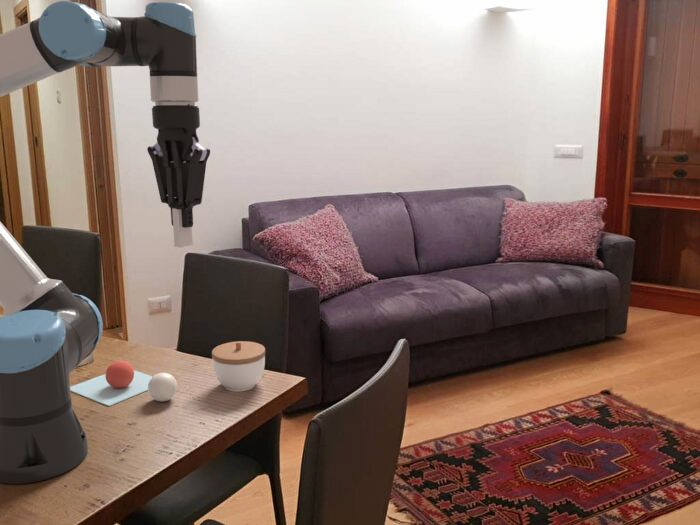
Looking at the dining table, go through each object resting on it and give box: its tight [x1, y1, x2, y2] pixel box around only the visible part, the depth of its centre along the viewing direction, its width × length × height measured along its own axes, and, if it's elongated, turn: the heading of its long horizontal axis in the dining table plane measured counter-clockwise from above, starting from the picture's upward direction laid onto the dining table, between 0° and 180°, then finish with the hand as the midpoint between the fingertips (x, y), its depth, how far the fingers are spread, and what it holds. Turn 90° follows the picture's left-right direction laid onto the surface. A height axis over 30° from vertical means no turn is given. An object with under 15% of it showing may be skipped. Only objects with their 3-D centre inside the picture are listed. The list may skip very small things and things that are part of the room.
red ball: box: [104, 360, 134, 388], centre depth 135 cm, size 6×6×6 cm
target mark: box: [70, 369, 153, 407], centre depth 136 cm, size 14×14×1 cm
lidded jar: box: [211, 340, 266, 393], centre depth 135 cm, size 11×11×9 cm
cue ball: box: [148, 372, 178, 402], centre depth 129 cm, size 6×6×6 cm
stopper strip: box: [76, 351, 95, 368], centre depth 145 cm, size 11×2×2 cm, turn 145°
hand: (183, 245), depth 114 cm, fingers closed
